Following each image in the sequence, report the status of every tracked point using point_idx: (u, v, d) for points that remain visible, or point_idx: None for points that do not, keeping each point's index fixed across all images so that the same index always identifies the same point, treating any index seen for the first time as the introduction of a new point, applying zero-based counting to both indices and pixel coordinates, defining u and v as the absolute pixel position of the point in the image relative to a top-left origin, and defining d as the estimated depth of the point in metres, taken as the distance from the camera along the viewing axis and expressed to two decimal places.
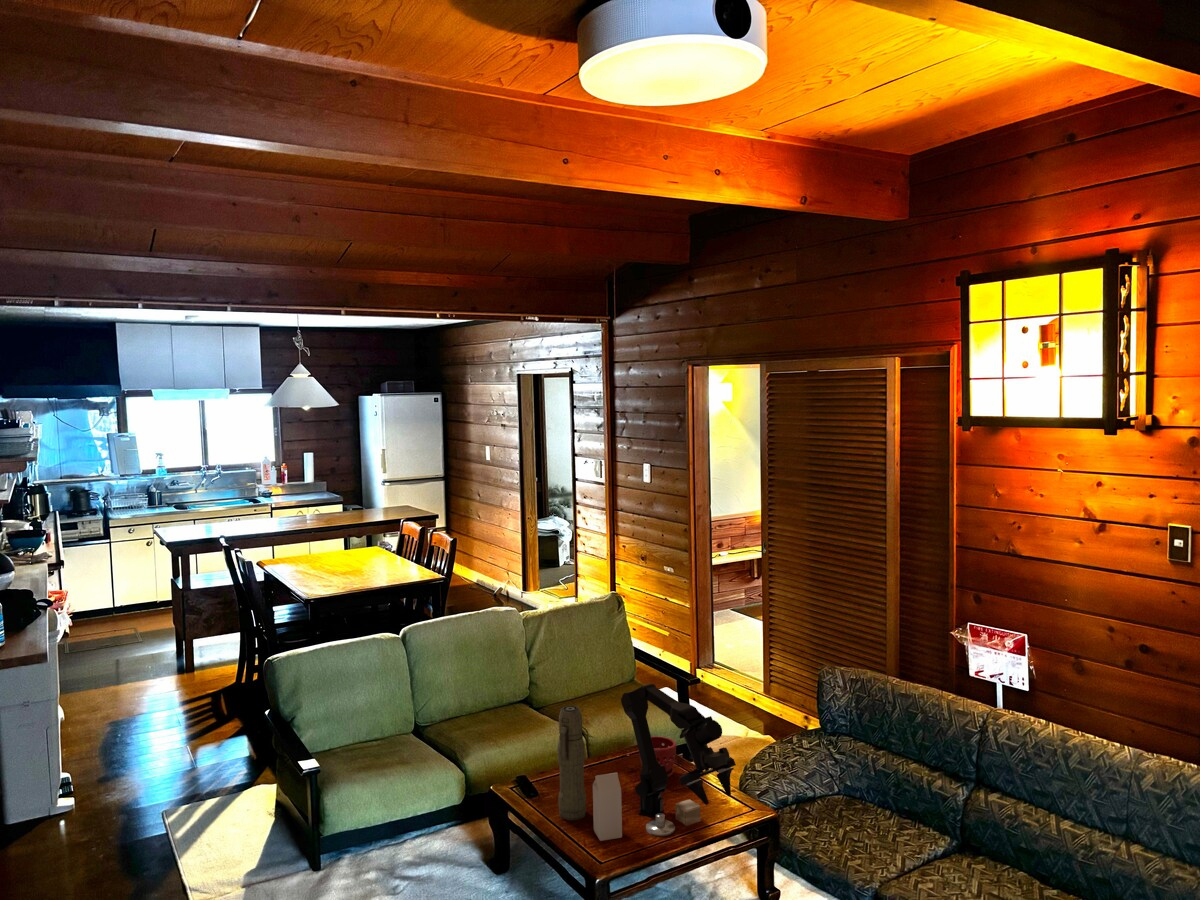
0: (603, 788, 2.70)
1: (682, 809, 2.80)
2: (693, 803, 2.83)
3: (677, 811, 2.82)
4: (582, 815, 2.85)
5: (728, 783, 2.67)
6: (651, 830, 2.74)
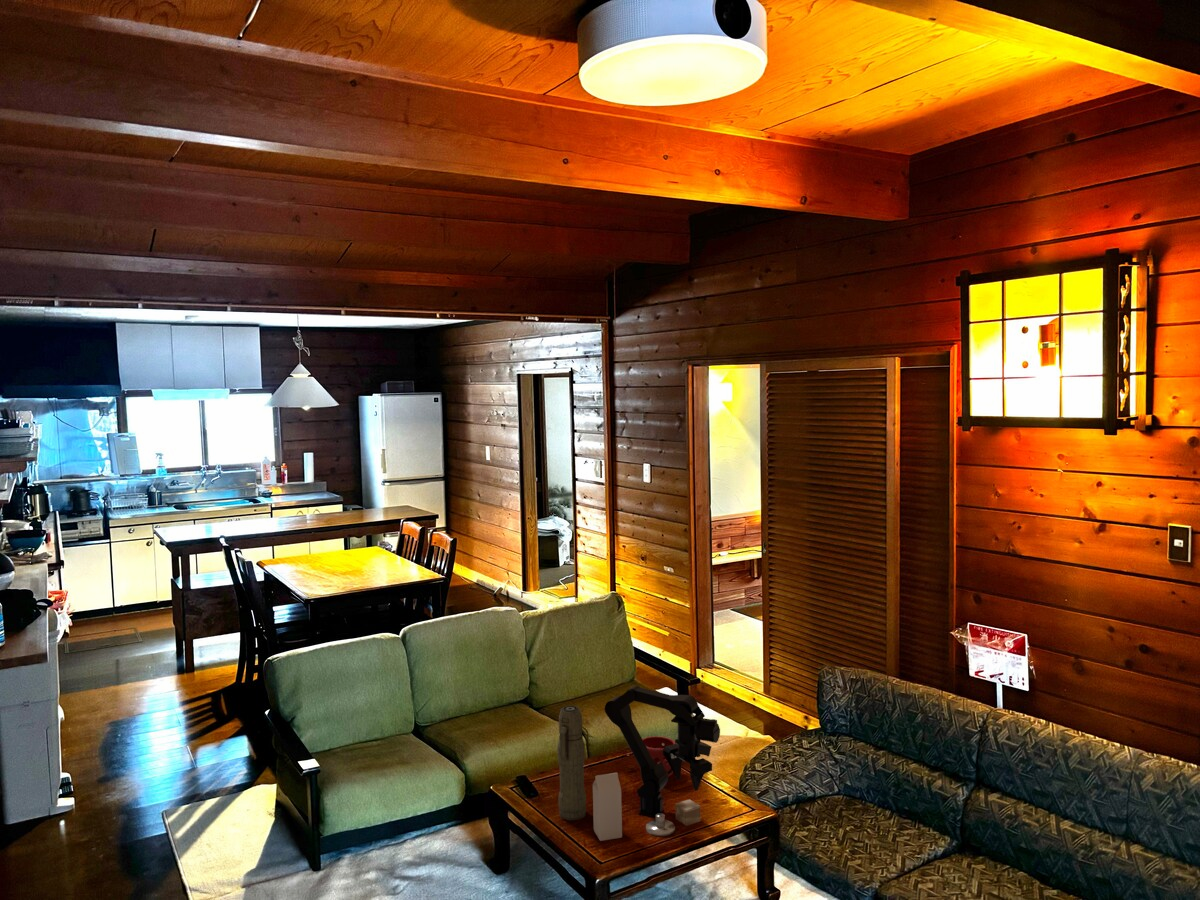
0: (603, 788, 2.70)
1: (682, 809, 2.80)
2: (693, 803, 2.83)
3: (677, 811, 2.82)
4: (582, 815, 2.85)
5: None
6: (651, 830, 2.74)
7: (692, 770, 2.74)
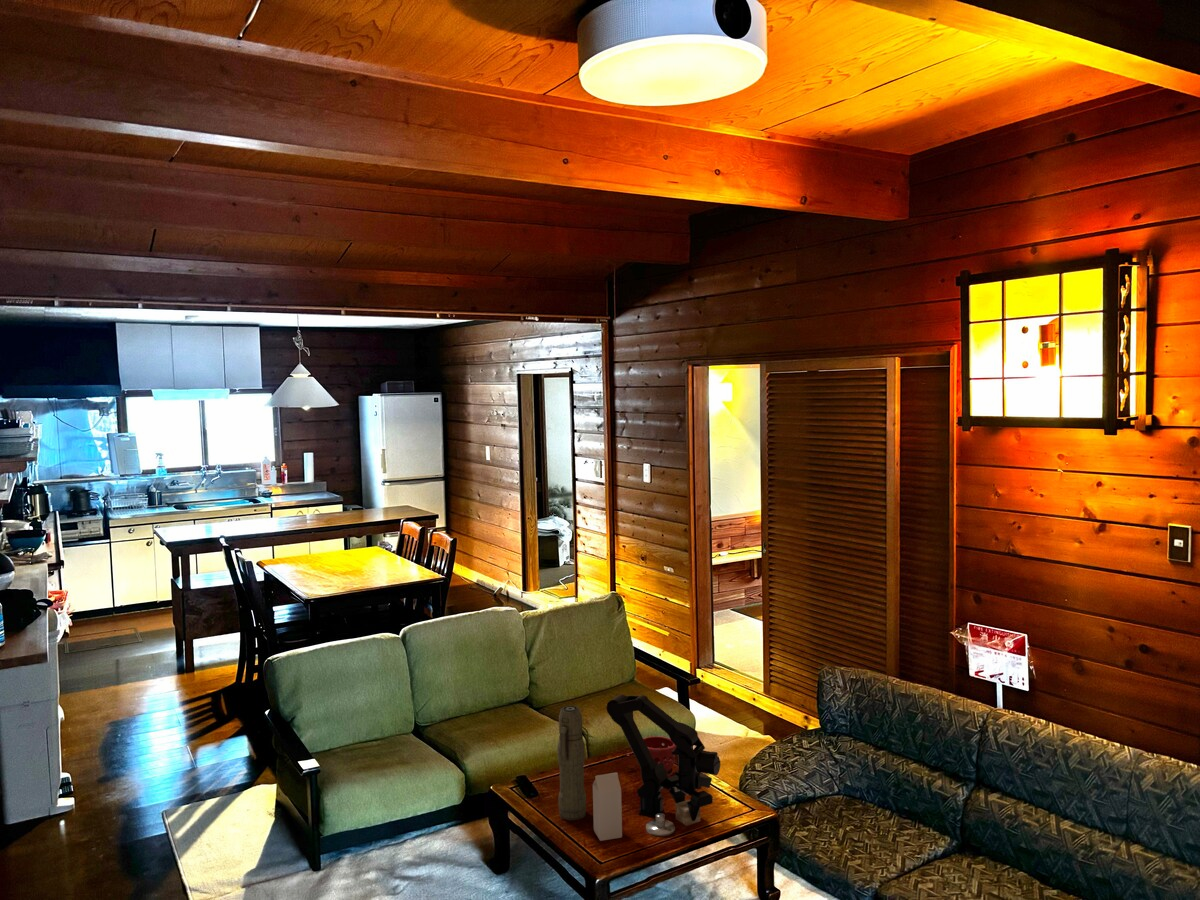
0: (603, 788, 2.70)
1: (682, 809, 2.80)
2: None
3: (677, 811, 2.82)
4: (582, 815, 2.85)
5: None
6: (651, 830, 2.74)
7: (693, 803, 2.75)
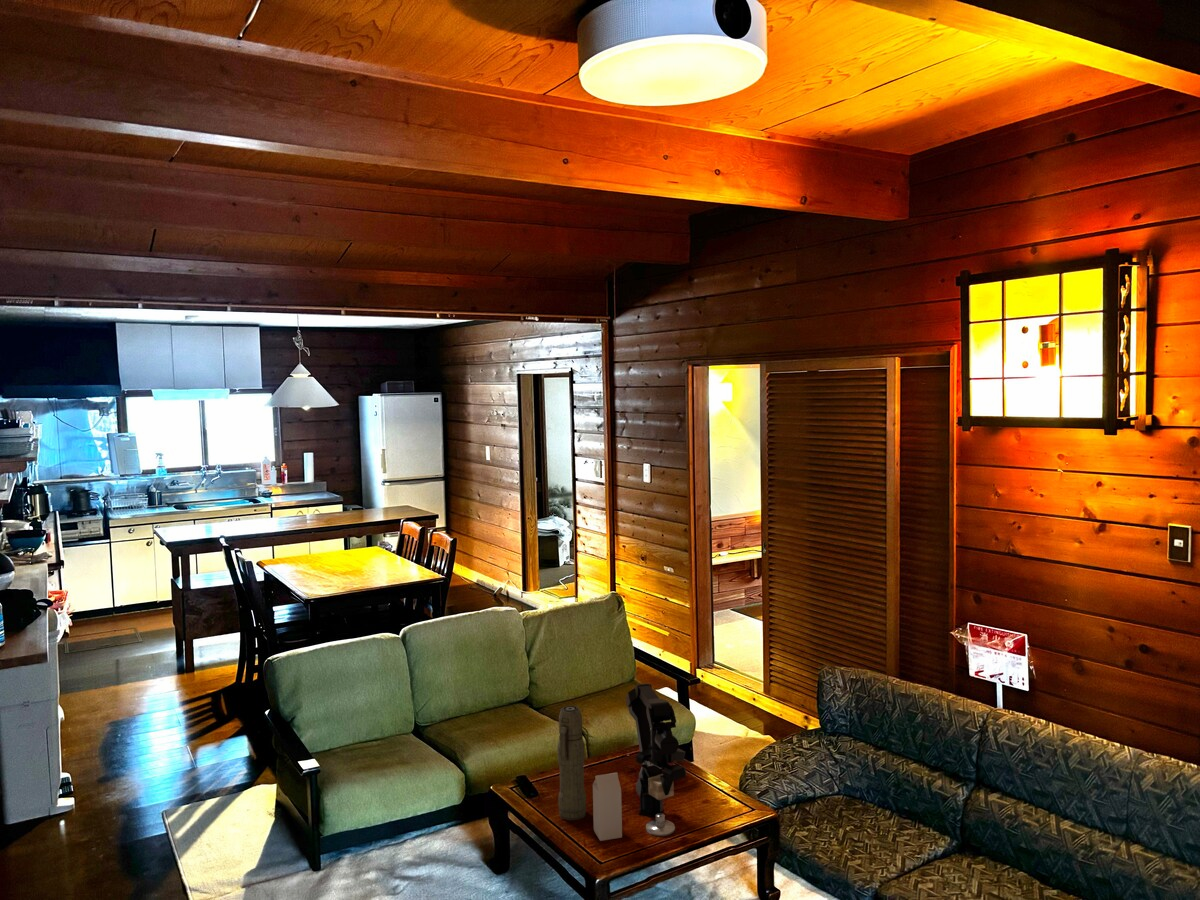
0: (603, 788, 2.70)
1: (655, 783, 2.74)
2: None
3: (650, 786, 2.76)
4: (582, 815, 2.85)
5: None
6: (651, 830, 2.74)
7: (666, 776, 2.68)
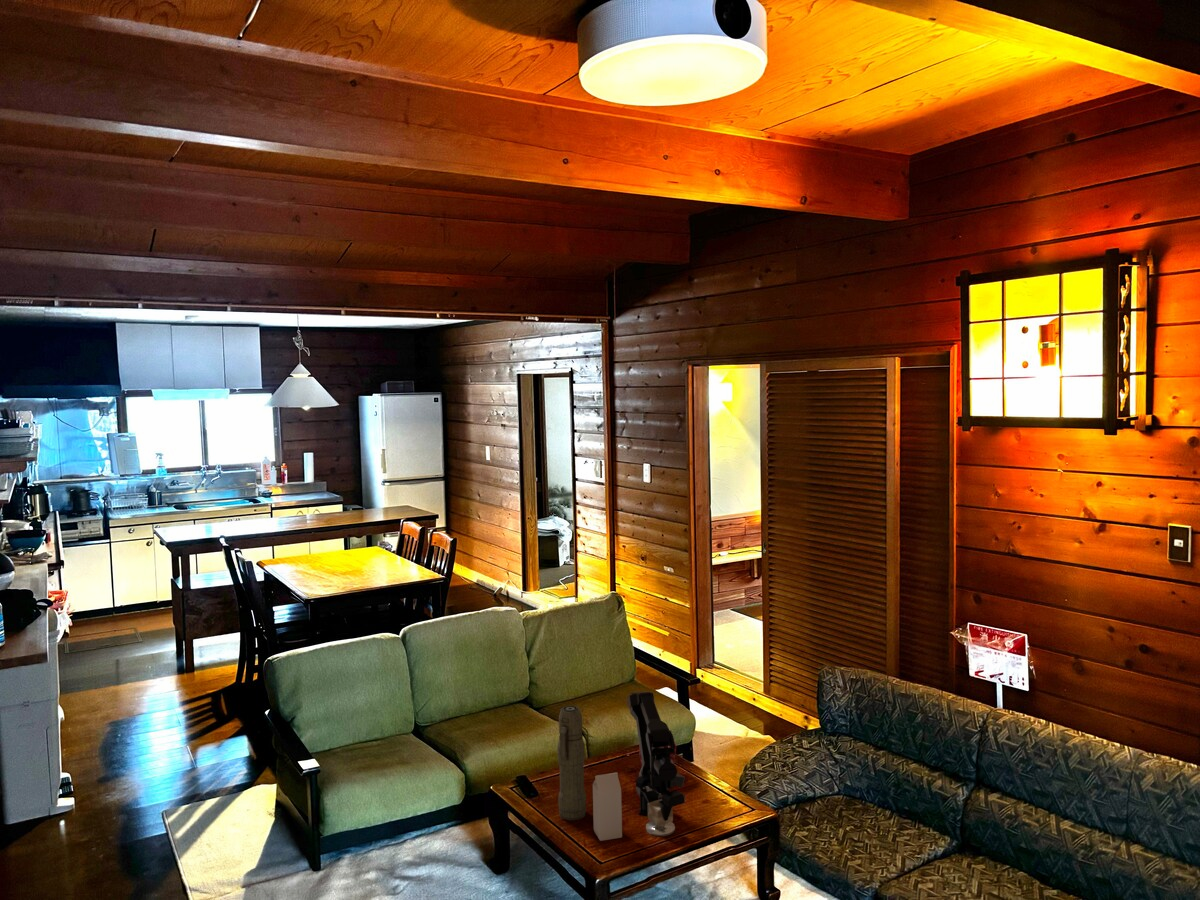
0: (603, 788, 2.70)
1: (654, 809, 2.74)
2: None
3: (649, 811, 2.76)
4: (582, 815, 2.85)
5: None
6: (651, 830, 2.74)
7: (664, 802, 2.69)
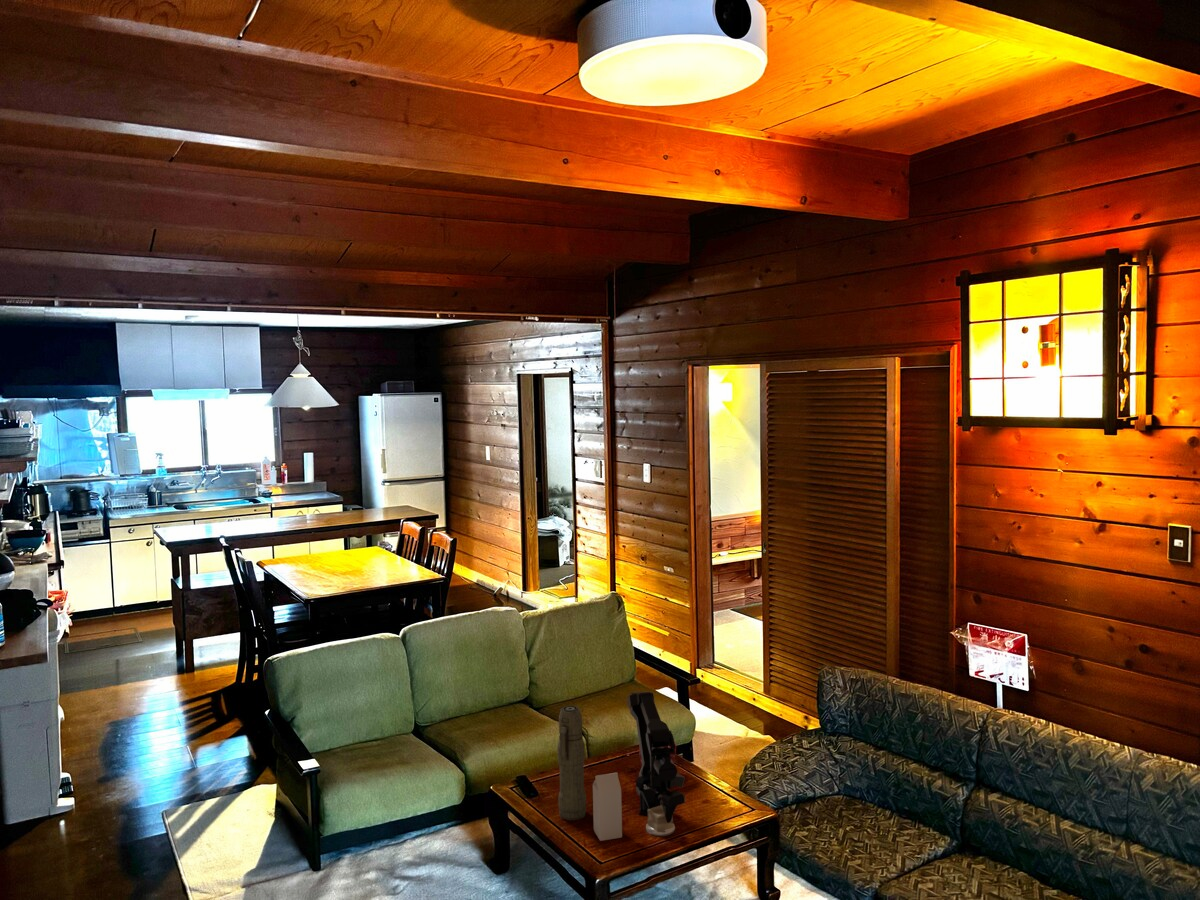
0: (603, 788, 2.70)
1: (654, 815, 2.74)
2: None
3: (649, 817, 2.77)
4: (582, 815, 2.85)
5: None
6: (651, 830, 2.74)
7: (664, 802, 2.69)
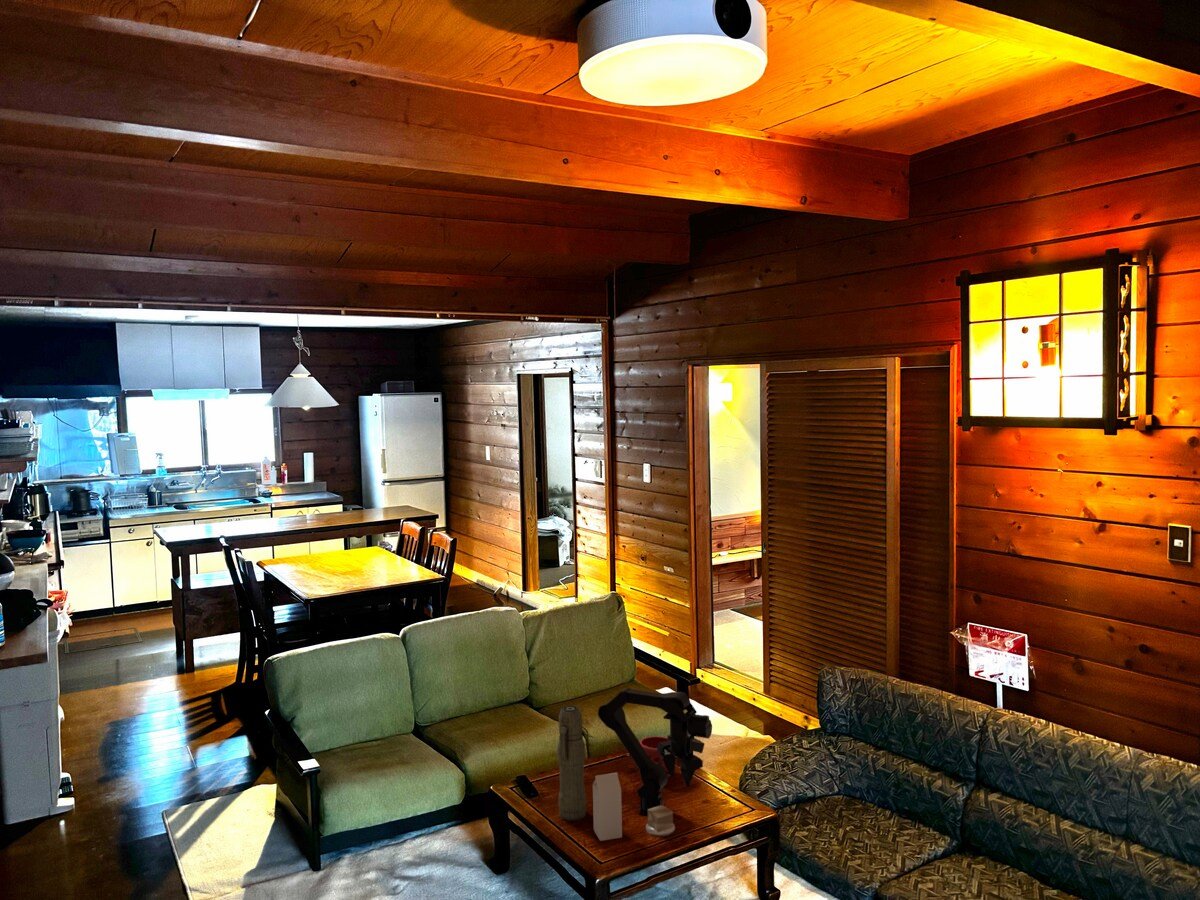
0: (603, 788, 2.70)
1: (654, 815, 2.74)
2: (666, 809, 2.77)
3: (649, 817, 2.77)
4: (582, 815, 2.85)
5: None
6: (651, 830, 2.74)
7: (682, 766, 2.75)
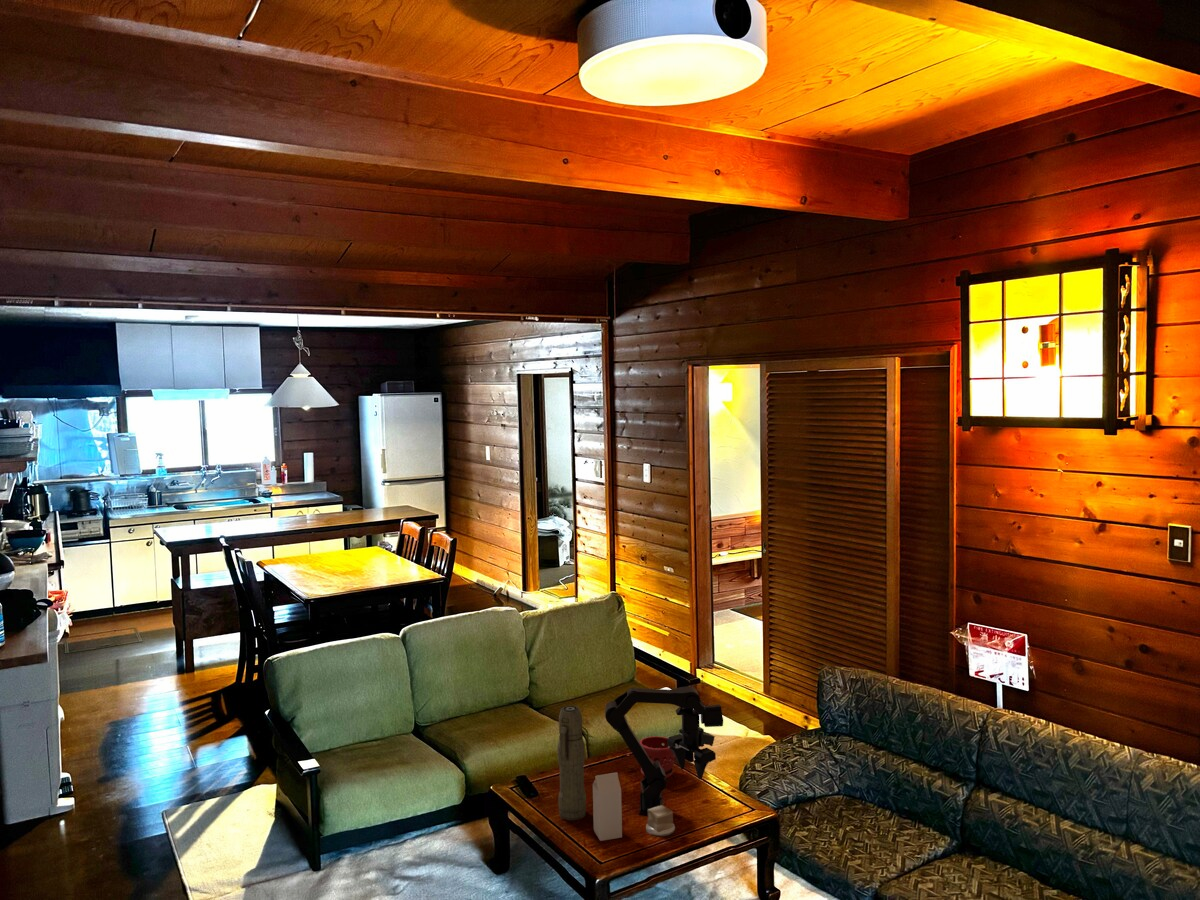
0: (603, 788, 2.70)
1: (654, 815, 2.74)
2: (666, 809, 2.77)
3: (649, 817, 2.77)
4: (582, 815, 2.85)
5: None
6: (651, 830, 2.74)
7: (696, 759, 2.81)
